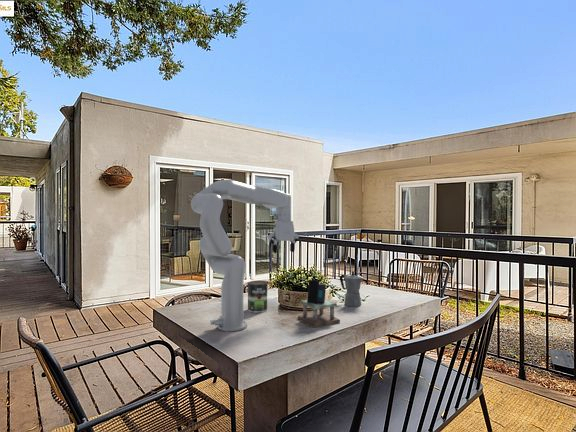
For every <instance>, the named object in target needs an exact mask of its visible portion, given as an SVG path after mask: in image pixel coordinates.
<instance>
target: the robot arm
mask: <svg viewBox="0 0 576 432" xmlns="http://www.w3.org/2000/svg"><path fill="white" fill-rule="evenodd" d="M224 200H230V201H234V202H235V201H236V202H240V203H243V204H249V205H262V206H263V207H264V208H267V209H275V212H276V213H275V215H274V216H273V219H275V221H274V224H273V232H272V233H270V234H269V235H267V239H268V241H269V243H270V244H271V246H272V248H271V249H272V252H273V254H274V253H275V254H277V253H278V245H277V243H278V242H287V241H289V242H290V244H289V247H290V248H289V251H290V252H291V253H294V252H295V248H296V246H295V245H296V243H297V242H298V241H299V237H300V234H298V233H296V232H295V225H294V221H293V220H292V196H291V194H290V193H287V192H286V193H285V192H284V191H281V190H278V189H274V188H269V187H263V186H258V185H257V186H256V185H252V184H248V183H244V182H240V181H236V180H234V179H233V180H232V179H222V180H216V181H214V182H212V183H210V185H208V186H206V187H205V188H203V189H202V190H201V191H199V192H198V193H196V194H195V195H194V196H192V198H191V201H190V207H191V210H192V211H193V213H196V214H199V215H200V218H199V229H200V231H201V233H202V237H201V238H200V240H199V250H200V252H201V255H202V256H203V258H204V259H205V261H206V263H207V264H208V266H209V267H210V269H211V270H212V272H214V273H216V275H217V274H218V275H221V276H223V279H222V281H221V287H220V288H221V290H220V292H221V296H220V297H221V299H220V300H221V301H220V302H221V303H220V307H221V310H220V311H221V316H219V318H217V319H211V320H210V321H209V322H210V323H209V324H210V325H213V326H217V329H219V330H220V331H223V332H237V331H242V330H244V329H246V328H247V327H248V323H247V322H246V321H244V279H245V273H246V268H247V267H246V261H245V260H244V258H243V257H242V256H240V255H238V254H233V253H232V251H233V250H232V249H233V245H232V242H231V239H230V238H229V236H228V234H227V233H226V232H225V229H224V227H223V226H222V223H221V213H222V211H223V207H224Z"/></svg>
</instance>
